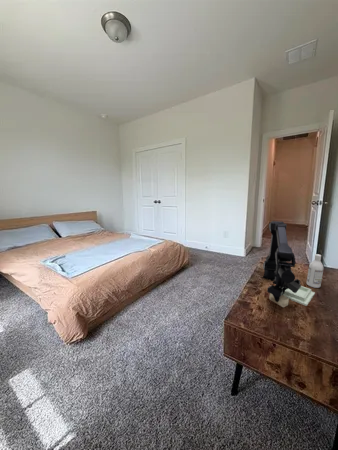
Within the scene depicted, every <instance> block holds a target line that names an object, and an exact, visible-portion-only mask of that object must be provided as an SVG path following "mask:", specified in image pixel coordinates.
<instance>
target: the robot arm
mask: <svg viewBox="0 0 338 450" xmlns="http://www.w3.org/2000/svg"><path fill="white" fill-rule="evenodd" d="M287 226H288V225H287V223H285V222H284V221H280V220H279V221H277V220H272V221H270V222H269V223H268V229H269V231H270V234H271V237H270V238H271V239H270V245H269V246H270V247H269V253H268V255H267V256H266V257H265V260H264V261H263V263H262V268H263V270H264V271H263V276H262V278H264V279H266V280H269V281H272V282H273V284H272V285H270V286H268V287H267V290H266V292H267V293H268V294H270V293H271V294H273V296H274V298H275V301H276V302H278V301H279V298H280V297H281V296H282V295H283V294H284V292H285V290H286V289H290V290H291V291H292V292H294V293H296V292H297V291H298V290H299V289H300V287H301V286H302V284H301V280H300V279H298V278H296V275H295V274H294V272H293V270H292V268H295V266H296V264H297V263H296V257H295V253H294V252H293V249H292V247H291V246H290V245H289V243H288V237H287Z"/></svg>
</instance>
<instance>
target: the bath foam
mask: <svg viewBox="0 0 338 450" xmlns="http://www.w3.org/2000/svg"><path fill="white" fill-rule="evenodd" d="M321 260H322V255H321V254H318V253H315V254H314V260H312V261H311V262H310V263H309V266H308V271H307V277H306V285H308V287H311V288H315V289H317V288H321V284H322V280H323V275H324V274H323V273H324V265H323V263H322V261H321Z"/></svg>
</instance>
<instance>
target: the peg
mask: <svg viewBox="0 0 338 450" xmlns="http://www.w3.org/2000/svg"><path fill="white" fill-rule="evenodd" d="M268 299H269V300H270V301H271V302H273V303H274V304H277V306H278V305H279V306H280V307H282V308H285V307H287V306H289V302H290V301H289V300H290V299H289V298H287V297H285V296H284V295H282V296H281V297H280V298H279V301H278V302H276V301H275V298H274V296H273V294H271V293H269V296H268Z"/></svg>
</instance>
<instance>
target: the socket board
mask: <svg viewBox="0 0 338 450" xmlns="http://www.w3.org/2000/svg"><path fill="white" fill-rule="evenodd" d="M315 293H316V292H315V291H312V288H309V287H305V286H303V285H301V287H300V289H299V290H298V291H297V292H296V293H294V292H292V291H291V290H290V289H286V290H285V292H284V294H283V295H284V296H285V297H287V298H289V300H290V301H292V302H296V303H297V304H300V305H301V306H302V305H303V306H306V307H307V306H308V304H309V303H310V302H311V300H312V299H313V297H314V296H315Z"/></svg>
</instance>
